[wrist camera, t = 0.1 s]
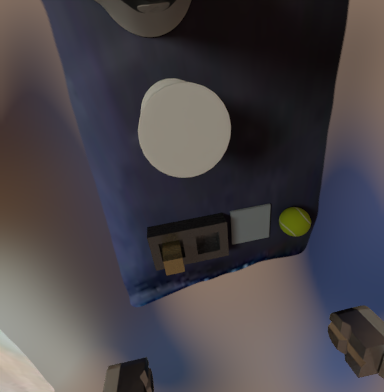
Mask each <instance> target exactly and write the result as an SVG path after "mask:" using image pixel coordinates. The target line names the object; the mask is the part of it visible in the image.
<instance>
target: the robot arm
mask: <svg viewBox="0 0 384 392" xmlns="http://www.w3.org/2000/svg"><path fill="white" fill-rule="evenodd" d="M95 1H97V2H98V3H100V4H101V5H102V6H103V7H104V8H105V10H106V11H107V12H108V13H109V15H110V16H111V17H112V18H113V19H114V20H115V21H116V22H117V23H118V24H119V25H120V26H122V27H123V28H124V29H126V30H127V31H129V32H131V33H133V34H136V35H139V36H143V37H156V36H161V35H164V34H166V33H168V32H170V31H171V30H173V29H174V28H175V27H176V26H177V25H178V24H179V23H180V22H181V21H182V19H183V18H184V16H185V14H186V12H187V10H188V8H189V6H190V3H191V0H95ZM330 320H331V321H332V322H331V323H330V325H329V326H328V333H329V337H330V339H331V341H332V343H333V344H334V346H335V347H336V349H337V350H339V351H340V352H342V353H344V354H345V361H346V362H347V363H348V364H349V366H350V367H351V369H352V370H353V371H354V373H355V374H356V375H357V377H358V378H360V377H364V376H369V375H373V374H377V373H379V376H381V377H382V378H384V322H383V321H382V320H381V319H380V318H379V317H378V316H377V315H376V314H375V313H374V312H373V311H372V310H370V309H369V308H368V307H367V306H358V307H354V308H349V309H345V310H341V311H337V312H334V313H331V314H330ZM148 365H149V362H148V360H147V357H146V358H141V359H137V360H133V361H128V362H124V363H119V364H115V365H111V366H109V367H108V370H107V373H106V378H105V383H104V388H103V392H154V386H153V376H152V371H151V369H150V368H148Z"/></svg>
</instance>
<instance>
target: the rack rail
mask: <svg viewBox="0 0 384 392" xmlns="http://www.w3.org/2000/svg"><path fill="white" fill-rule="evenodd" d="M147 239H148V243H149V246H150V250H151V254H152V257H153V261H154V264H155V268H156V271H157V270H162V269H165V267H164V263H163V251H162V243H166V242H171V241H176V240H179V241H180V246H181V252H182V257H183V263H184V265H185V264H190V263H195V262H199V261H204V260H209V259H213V258H218V257H223V256H227V255H229V249H228V232H227V221H226V219H225V218H224V216H223V214H222V213H218V214H213V215H208V216H203V217H198V218H193V219H188V220H183V221H178V222H172V223H167V224H162V225H157V226H152V227H147Z"/></svg>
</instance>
